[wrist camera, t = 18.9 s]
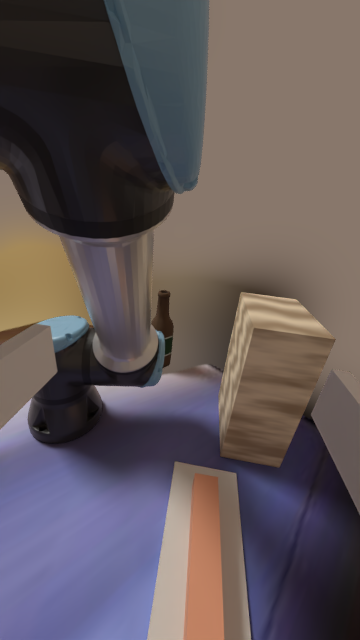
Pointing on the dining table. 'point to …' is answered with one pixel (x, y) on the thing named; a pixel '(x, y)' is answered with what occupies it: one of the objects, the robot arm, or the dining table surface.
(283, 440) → the stand
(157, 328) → the beer bottle
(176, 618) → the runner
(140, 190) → the robot arm
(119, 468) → the dining table surface
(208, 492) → the pink long bar
